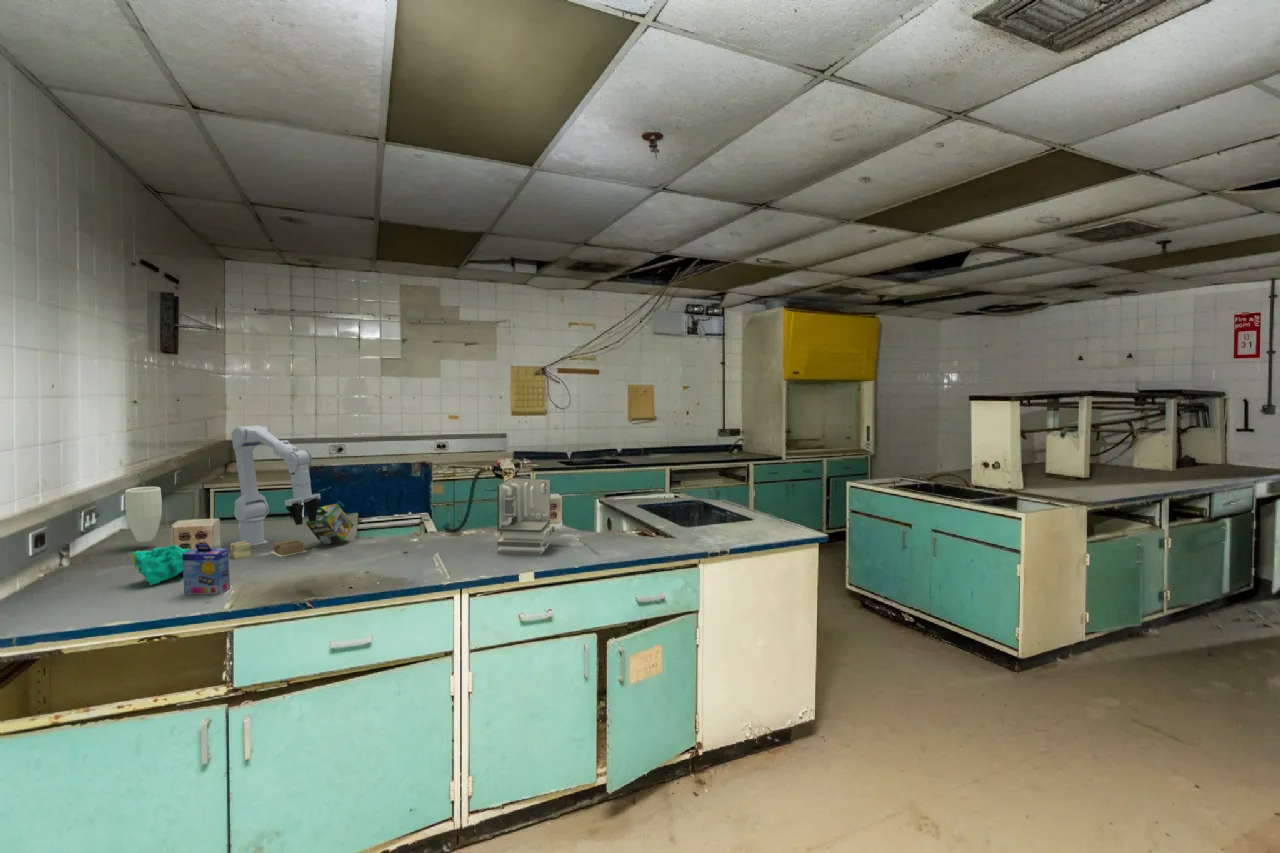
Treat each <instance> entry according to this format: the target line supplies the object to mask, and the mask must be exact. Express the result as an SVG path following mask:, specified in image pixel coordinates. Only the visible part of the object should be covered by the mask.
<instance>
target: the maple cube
mask: <svg viewBox="0 0 1280 853" xmlns="http://www.w3.org/2000/svg"><path fill="white" fill-rule="evenodd" d="M229 545H230V557H231V558H232V559H234V560H238V559H243V558H247V557H251V546H250V543H248V542H246V541H243V542H237V543H236V542H233V543H230V544H229Z"/></svg>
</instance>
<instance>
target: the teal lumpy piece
mask: <svg viewBox="0 0 1280 853" xmlns="http://www.w3.org/2000/svg"><path fill="white" fill-rule="evenodd" d="M190 550H191V549H190V548H182V547H180V546H179V545H176V544H171V545H169V546H166V547H162V546H161V547H155V548H153V549H152V550H136V551H132V552H131V553H130V554H131V558H132V564H133V566H134V567H135V569H137V570H138V574H141V575H142V576H143V577H144V578H145V579H144V580H145V581H146V582H148V583H149V586H150V585H151V586H153V585H157V583H158V584H159V583H160V581H161V582H163V581H162V580H164V581H167V580H166V579H169V580H171V579H170V578H172V579H173V578H174V577H177V575H180V574H181V573H183V560H182V554H183V553H185V552H187V551H190ZM152 584H153V585H152Z"/></svg>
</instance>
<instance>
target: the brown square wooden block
mask: <svg viewBox="0 0 1280 853" xmlns="http://www.w3.org/2000/svg"><path fill="white" fill-rule="evenodd" d="M304 550H305V548H304V542H302V541H299V540H297V539H290V540H284V541H280V542H274V543H273V551H274V552H276V553H278V554H280V555H287V554H292V553H297V552H302V551H304ZM302 553H303V552H302ZM297 554H298V553H297ZM292 555H293V554H292ZM287 556H288V555H287Z"/></svg>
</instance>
